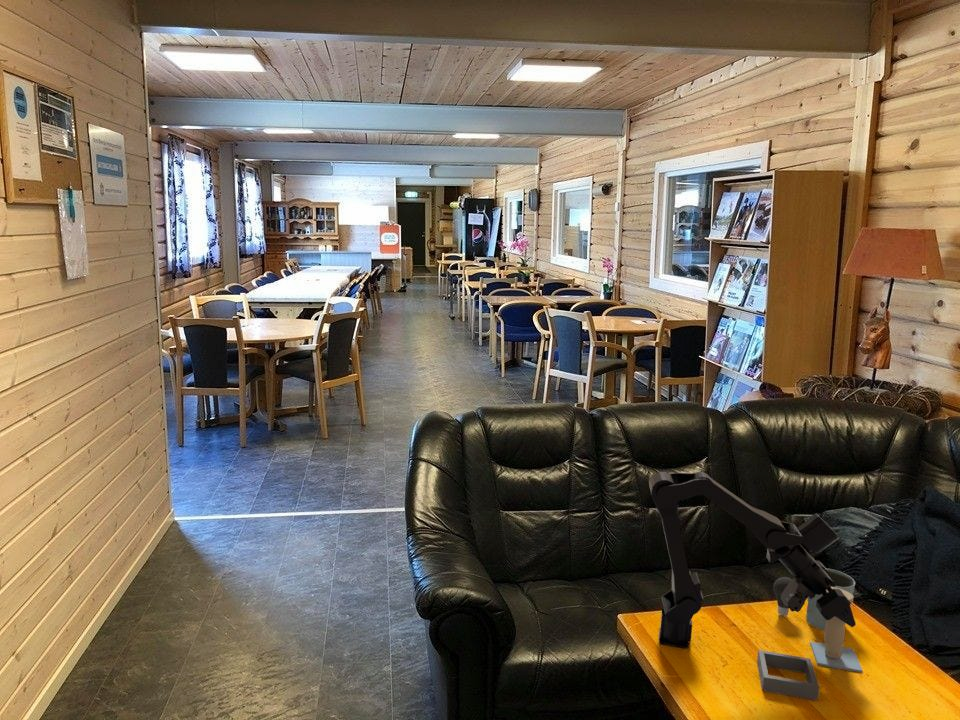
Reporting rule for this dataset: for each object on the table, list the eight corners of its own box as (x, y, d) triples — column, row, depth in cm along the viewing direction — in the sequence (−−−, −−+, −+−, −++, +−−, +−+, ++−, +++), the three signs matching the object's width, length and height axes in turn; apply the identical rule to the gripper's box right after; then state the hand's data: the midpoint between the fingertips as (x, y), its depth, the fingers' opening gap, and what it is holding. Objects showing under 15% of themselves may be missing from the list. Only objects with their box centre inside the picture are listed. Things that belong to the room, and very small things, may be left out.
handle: (841, 666, 157) (846, 602, 155) (813, 653, 163) (817, 590, 160) (852, 658, 160) (857, 595, 158) (824, 645, 165) (828, 584, 163)
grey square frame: (762, 690, 149) (763, 677, 148) (757, 662, 159) (758, 649, 158) (817, 700, 146) (819, 687, 146) (808, 671, 156) (810, 658, 156)
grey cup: (795, 612, 181) (800, 567, 179) (833, 611, 182) (839, 567, 180) (818, 634, 171) (824, 587, 169) (858, 633, 172) (864, 586, 170)
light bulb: (796, 623, 176) (801, 584, 174) (772, 619, 177) (776, 581, 175) (792, 611, 181) (796, 574, 180) (768, 608, 183) (772, 571, 181)
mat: (817, 664, 159) (817, 662, 159) (810, 643, 167) (810, 641, 167) (862, 672, 156) (862, 670, 156) (852, 650, 165) (853, 648, 165)
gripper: (761, 567, 170) (805, 616, 171) (781, 606, 152) (830, 660, 152) (800, 539, 168) (844, 588, 168) (825, 574, 150) (875, 630, 150)
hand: (847, 616), depth 160 cm, fingers open, 8 cm apart
